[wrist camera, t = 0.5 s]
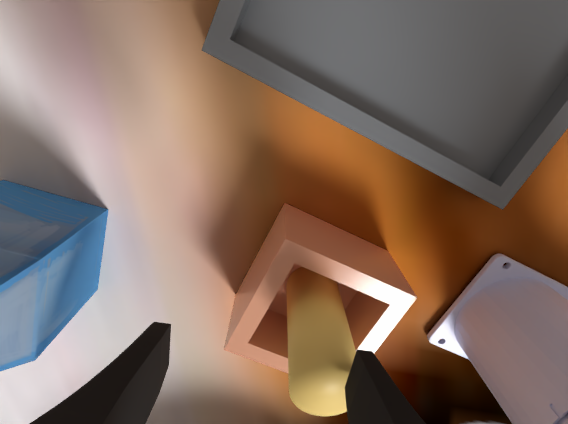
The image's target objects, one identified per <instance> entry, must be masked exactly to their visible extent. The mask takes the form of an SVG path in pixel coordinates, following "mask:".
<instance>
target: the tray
mask: <svg viewBox="0 0 568 424" xmlns="http://www.w3.org/2000/svg"><path fill="white" fill-rule="evenodd" d="M202 51H204V52H206V53H208V54H210V55H212V56H213V57H215V58H217V59H219V60H221V61H223V62H225V63H227V64H229V65H230V66H232V67H234V68H236V69H238V70H240V71H242V72H244V73H246V74H247V75H249V76H251V77H253V78H255V79H257V80H259V81H261V82H263V83H264V84H266V85H268V86H270V87H272V88H274V89H276V90H278V91H280V92H281V93H283V94H285V95H287V96H289V97H291V98H293V99H295V100H297V101H298V102H300V103H302V104H304V105H306V106H308V107H310V108H312V109H314V110H315V111H317V112H319V113H321V114H323V115H325V116H327V117H329V118H331V119H332V120H334V121H336V122H338V123H340V124H342V125H344V126H346V127H348V128H349V129H351V130H353V131H355V132H357V133H359V134H361V135H363V136H365V137H366V138H368V139H370V140H372V141H374V142H376V143H378V144H380V145H382V146H383V147H385V148H387V149H389V150H391V151H393V152H395V153H397V154H398V155H400V156H402V157H404V158H406V159H408V160H410V161H412V162H414V163H415V164H417V165H419V166H421V167H423V168H425V169H427V170H429V171H431V172H432V173H434V174H436V175H438V176H440V177H442V178H444V179H446V180H448V181H449V182H451V183H453V184H455V185H457V186H459V187H461V188H463V189H465V190H466V191H468V192H470V193H472V194H474V195H476V196H478V197H480V198H482V199H483V200H485V201H487V202H489V203H491V204H493V205H495V206H497V207H499V208H500V209H502V210H503V209H504V208H505V206H506V205H507V204H508V203H509V201H510V200H511V199H512V198H513V196H514V195H515V194H516V192H517V191H518V190H519V189H520V187H521V186H522V185H523V184H524V182H525V181H526V180H527V179H528V177H529V176H530V175H531V174H532V172H533V171H534V170H535V169H536V167H537V166H538V165H539V164H540V162H541V161H542V160H543V159H544V157H545V156H546V155H547V154H548V152H549V151H550V150H551V148H552V147H553V146H554V145H555V143H556V142H557V141H558V140H559V138H560V137H561V136H562V135H563V133H564V132H565V131H566V130H567V128H568V0H220V1H219V4H218V7H217V10H216V12H215V15H214V18H213V20H212V23H211V26H210V29H209V31H208V34H207V37H206V40H205V42H204V45H203V48H202Z"/></svg>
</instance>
